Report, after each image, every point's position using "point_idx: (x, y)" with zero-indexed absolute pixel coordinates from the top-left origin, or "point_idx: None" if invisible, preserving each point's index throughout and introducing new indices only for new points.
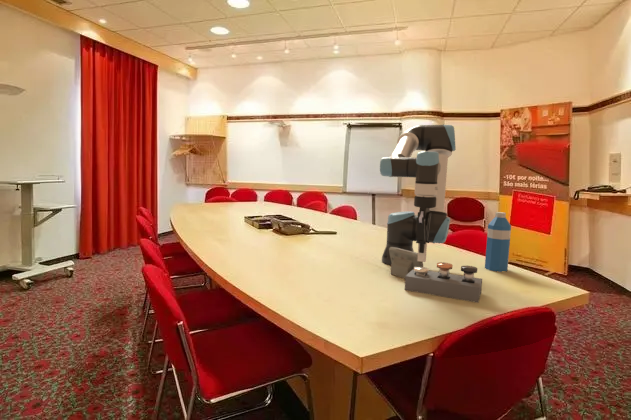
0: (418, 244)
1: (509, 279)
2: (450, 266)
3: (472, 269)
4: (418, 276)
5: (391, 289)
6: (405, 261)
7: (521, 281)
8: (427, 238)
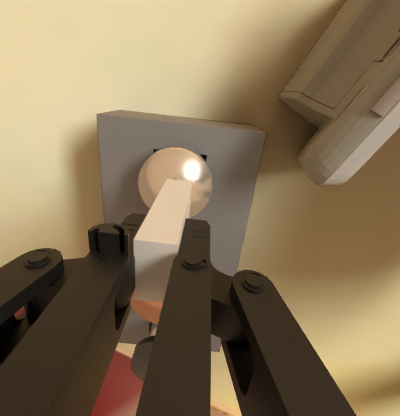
0: (137, 234)
1: (374, 371)
2: (144, 317)
3: (135, 374)
4: (127, 173)
5: (93, 52)
6: (362, 69)
7: (360, 388)
8: (221, 340)
